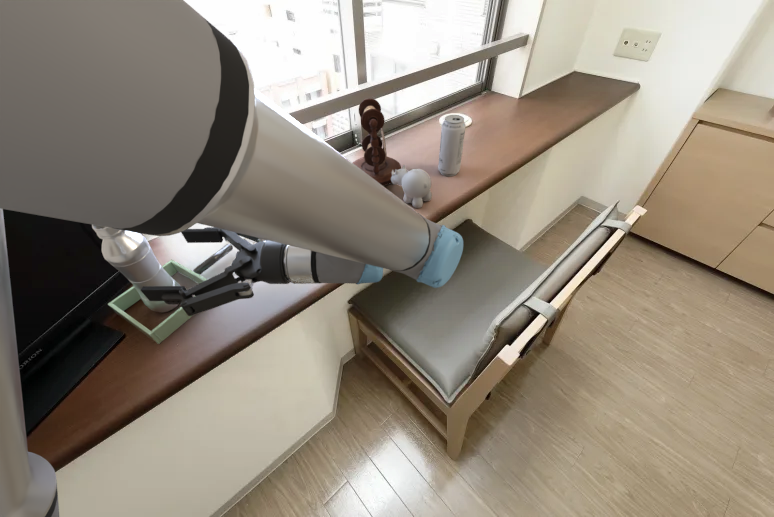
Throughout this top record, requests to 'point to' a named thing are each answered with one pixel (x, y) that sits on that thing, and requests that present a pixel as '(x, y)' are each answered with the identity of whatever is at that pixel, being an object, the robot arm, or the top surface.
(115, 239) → the plastic bottle
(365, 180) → the robot arm
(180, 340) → the top surface
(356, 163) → the wooden spool stand
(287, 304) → the top surface
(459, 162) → the energy drink can
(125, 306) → the pan
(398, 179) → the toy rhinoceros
